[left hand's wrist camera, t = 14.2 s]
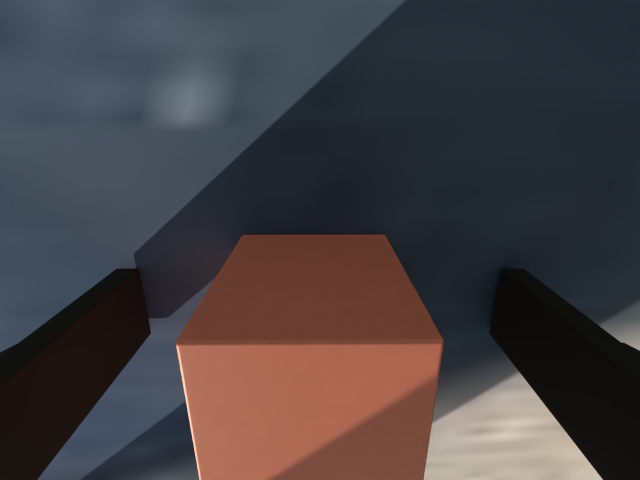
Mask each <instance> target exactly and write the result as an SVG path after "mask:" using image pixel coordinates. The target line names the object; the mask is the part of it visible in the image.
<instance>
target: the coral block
mask: <svg viewBox="0 0 640 480" xmlns="http://www.w3.org/2000/svg"><path fill="white" fill-rule="evenodd" d="M443 345H444V341H443V338H442V337H441V335H440V333H439V331H438V329H437V328H436V326H435V324H434V322H433V320H432V319H431V317H430V315H429V313H428V311H427V309H426V308H425V306H424V304H423V302H422V300H421V299H420V297H419V295H418V293H417V291H416V290H415V288H414V286H413V284H412V282H411V281H410V279H409V277H408V275H407V273H406V272H405V270H404V268H403V266H402V264H401V263H400V261H399V259H398V257H397V255H396V254H395V252H394V250H393V248H392V246H391V245H390V243H389V241H388V239H387V237H386V236H385V235H384V234H377V235H242V236H241V238H240V240H239V241H238V243H237V244H236V246H235V248H234V249H233V251H232V252H231V254H230V256H229V257H228V259H227V261H226V262H225V264H224V265H223V267H222V269H221V270H220V272H219V273H218V275H217V277H216V278H215V280H214V281H213V283H212V285H211V286H210V288H209V290H208V291H207V293H206V294H205V296H204V298H203V299H202V301H201V302H200V304H199V306H198V307H197V309H196V310H195V312H194V314H193V315H192V317H191V319H190V320H189V322H188V323H187V325H186V327H185V328H184V330H183V331H182V333H181V335H180V336H179V338H178V339H177V342H176V347H177V352H178V358H179V364H180V369H181V375H182V381H183V387H184V392H185V398H186V404H187V410H188V415H189V421H190V427H191V432H192V438H193V444H194V450H195V455H196V461H197V467H198V473H199V478H200V480H423V479H424V472H425V465H426V459H427V452H428V445H429V439H430V432H431V425H432V419H433V412H434V405H435V399H436V392H437V385H438V379H439V372H440V365H441V359H442V352H443Z"/></svg>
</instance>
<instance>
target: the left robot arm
mask: <svg viewBox="0 0 640 480" xmlns="http://www.w3.org/2000/svg"><path fill="white" fill-rule="evenodd" d="M489 333H490V335H491V336H492V337H493V338H494V340H495V341H496V342H497V344H498V345H499V346H500V347H501V349H502V350H503V351H504V353H505V354H506V355H507V356H508V358H509V359H510V360H511V362H512V363H513V364H514V365H515V367H516V368H517V369H518V371H519V372H520V373H521V374H522V376H523V377H524V378H525V380H526V381H527V382H528V384H529V385H530V386H531V387H532V389H533V390H534V391H535V393H536V394H537V395H538V396H539V398H540V399H541V400H542V402H543V403H544V404H545V405H546V407H547V408H548V409H549V411H550V412H551V413H552V414H553V416H554V417H555V418H556V420H557V421H558V422H559V423H560V425H561V426H562V427H563V429H564V430H565V431H566V432H567V434H568V435H569V436H570V438H571V439H572V440H573V442H574V443H575V444H576V445H577V447H578V448H579V449H580V451H581V452H582V453H583V454H584V456H585V457H586V458H587V460H588V461H589V462H590V463H591V465H592V466H593V467H594V469H595V470H596V471H597V472H598V474H599V475H600V476H601V478H602V479H603V480H640V351H639V350H637V349H635V348H633V347H631V346H629V345H627V344H625V343H621V342H619V341H618V340H617V339H616V338H614V337H613V336H612V335H610V334H609V333H608V332H606V331H605V330H604V329H602V328H601V327H600V326H598V325H597V324H596V323H594V322H593V321H592V320H590V319H589V318H588V317H586V316H585V315H584V314H582V313H581V312H580V311H579V310H577V309H576V308H575V307H573V306H572V305H571V304H569V303H568V302H567V301H565V300H564V299H563V298H561V297H560V296H559V295H557V294H556V293H555V292H553V291H552V290H551V289H549V288H548V287H547V286H545V285H544V284H543V283H541V282H540V281H539V280H538V279H536V278H535V277H534V276H532V275H531V274H530V273H528V272H527V271H526V270H524V269H502V272H501V277H500V282H499V287H498V292H497V297H496V302H495V307H494V312H493V317H492V322H491V327H490V332H489ZM150 334H151V331H150V326H149V321H148V316H147V311H146V306H145V301H144V296H143V291H142V286H141V281H140V276H139V271H138V269H116V270H115V271H113V272H112V273H111V274H109V275H108V276H107V277H105V278H104V279H103V280H101V281H100V282H99V283H97V284H96V285H95V286H93V287H92V288H91V289H90V290H88V291H87V292H86V293H84V294H83V295H82V296H80V297H79V298H78V299H76V300H75V301H74V302H72V303H71V304H70V305H68V306H67V307H66V308H64V309H63V310H62V311H60V312H59V313H58V314H56V315H55V316H54V317H53V318H51V319H50V320H49V321H47V322H46V323H45V324H43V325H42V326H41V327H39V328H38V329H37V330H35V331H34V332H33V333H31V334H30V335H29V336H27V337H26V338H25V339H23V340H22V341H21V342H19V343H18V344H16V345H14V346H12V347H10V348H8V349H6V350H4V351H2V352H0V480H37V479H38V478H39V477H40V475H41V474H42V473H43V471H44V470H45V469H46V468H47V466H48V465H49V464H50V462H51V461H52V460H53V459H54V457H55V456H56V455H57V453H58V452H59V451H60V450H61V448H62V447H63V446H64V444H65V443H66V442H67V441H68V439H69V438H70V437H71V435H72V434H73V433H74V432H75V430H76V429H77V428H78V426H79V425H80V424H81V422H82V421H83V420H84V419H85V417H86V416H87V415H88V413H89V412H90V411H91V410H92V408H93V407H94V406H95V404H96V403H97V402H98V401H99V399H100V398H101V397H102V395H103V394H104V393H105V392H106V390H107V389H108V388H109V386H110V385H111V384H112V383H113V381H114V380H115V379H116V377H117V376H118V375H119V374H120V372H121V371H122V370H123V368H124V367H125V366H126V364H127V363H128V362H129V361H130V359H131V358H132V357H133V355H134V354H135V353H136V352H137V350H138V349H139V348H140V346H141V345H142V344H143V343H144V341H145V340H146V339H147V337H148V336H149V335H150Z"/></svg>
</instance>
